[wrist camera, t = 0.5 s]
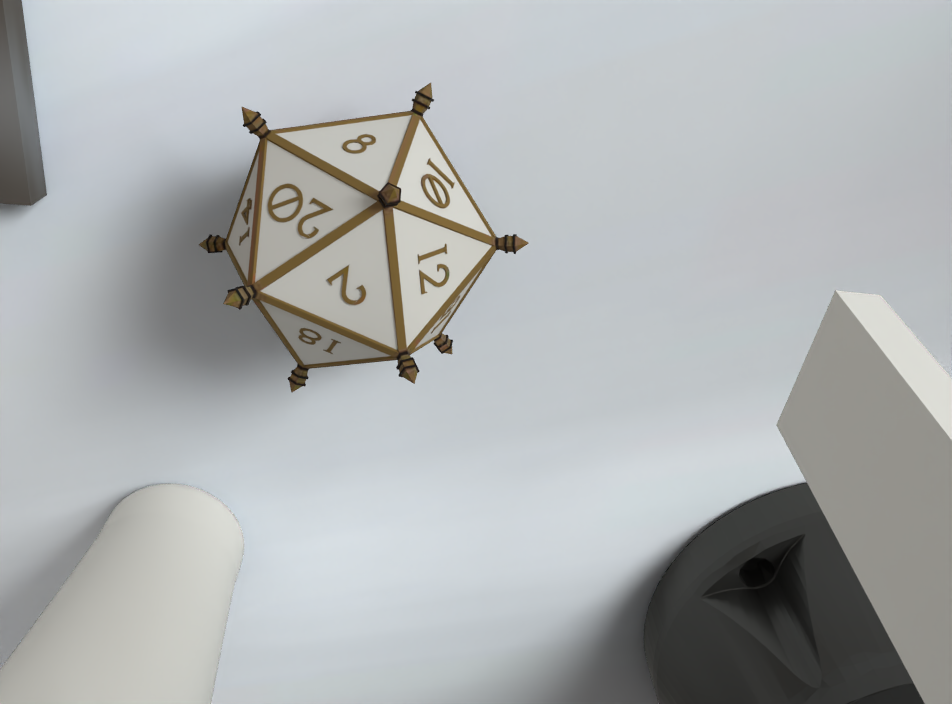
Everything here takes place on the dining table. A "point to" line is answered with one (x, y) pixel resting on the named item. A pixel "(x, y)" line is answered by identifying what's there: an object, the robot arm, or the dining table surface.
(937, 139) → the dining table surface
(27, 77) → the plinth
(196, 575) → the drinking glass
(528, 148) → the dining table surface
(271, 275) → the game die
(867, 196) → the dining table surface
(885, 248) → the dining table surface
